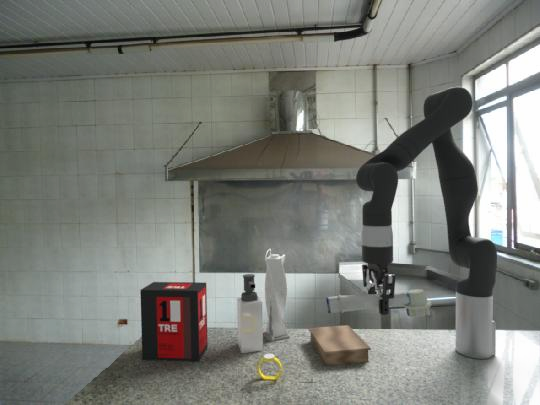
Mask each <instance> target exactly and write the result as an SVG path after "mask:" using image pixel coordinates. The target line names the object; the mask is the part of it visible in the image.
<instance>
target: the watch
mask: <svg viewBox="0 0 540 405" xmlns="http://www.w3.org/2000/svg"><path fill="white" fill-rule="evenodd" d="M265 361H266V362H272V361H274V362H276V363H277V365H278V367H279V371H278V374H276V375H275V376H272V375H271V376H269V375H264V374H263V372H262V371H261V369H260V367H261V364H262V363H263V362H265ZM282 368H283V367H282V363H281V361H280V360H279V358H277V357H275V354H274V353H266V354H264V355H263V357H262V358H261V359H260V360H259V362H258V364H257V373H258V376H259V377H260V378H261V379H263V381H276V380H278V379H279V378H280V377H281V374H282V371H283V369H282Z"/></svg>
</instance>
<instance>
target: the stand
mask: <svg viewBox="0 0 540 405" xmlns="http://www.w3.org/2000/svg"><path fill="white" fill-rule="evenodd" d="M308 331H309V333H310V342H311V344H312V345H313V347H314V349H315V350H316V351H317V353H318V355H319V357H320V358H321V360H322V361H323V363H324V364H325V366H334V365H336V366H337V365H345V364H358V363H368V362H369V351H371V349H372V348H371V347H370V346H369V345H368V343H366V341H365V340H364V339H363V338H362V337H360V335H359V334H358V333H357V332H356V331H355V330H353V329H352V327H351V326H350V325H348V324H347V325H335V326H334V325H332V326H319V327H308Z"/></svg>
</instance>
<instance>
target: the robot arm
mask: <svg viewBox="0 0 540 405" xmlns="http://www.w3.org/2000/svg"><path fill="white" fill-rule="evenodd" d="M473 106H474V105H473V97H472V94H471V93H470V91H469V90H468V89H466V87H463V86H453V87H448V88H446V89H444V90H440V91H437V92H433V93H432V94H430V95H428V96H427V97H426V98H425V100H424V102H423V116H424V118H423V119H422V120H420V122H418V123H416V124H413V125H412V126H410V127H409V128H407V130H405V131H404V132H403V133H400V135H398V136H397V137H396V138H395V139H394V140H393V141H391V143H390V144H389V145H388V146H387V147H386V148H385V149H384V150H382V151H380V152H379V153H377V154H376V155H375V156H373V157H371V158H370V159H369V160H367V161H366V162H364V163H363V164H362V165H361V166H360V167H359V169H358V170H357V172H356V176H355V183H356V185H357V186H358V188H359V189H361V190H362V191H365V192H372V195H371V199H370V200H369V201H366V202H365V203H364V204H363V205H362V210H361V211H362V214H361V218H362V220H361V221H362V226H361V227H362V228H361V261H362V262H363V264H361V268H362V269H361V271H362V282H363V283H362V284H363V288H365V289H366V291H367V294H378V296H379V308H378V314H379V315H381V316H383V315H384V316H386V315H389V313H390V309H389V308H390V307H389V299H393V298H394V293H395V290H396V289H395V288H396V287H395V286H396V274H390V272H389V267H388V266H389V264H392V263H393V262H394V232H393V224H392V223H393V221H392V220H393V215H392V210H393V209H392V208H393V204H394V203H395V199H396V198H395V197H396V194H397V189H398V186H399V174H398V172H400V171H403V170H405V169H406V168H407V167H408V166H409V165H410V164H411V163H412V162H413V161H414V160H416V158H417V157H419V156H420V154H421V153H423V152H424V150H426V149H427V148H428V147H429V146H430V145H431V144H432V148H433V153H434V157H435V163H436V167H437V173H438V174H437V175H438V178H439V179H438V180H439V185H440V186H439V187H440V189H441V196H442V200H443V206H444V211H445V218H446V219H445V220H446V227H447V242H448V243H447V244H448V253H449V256H450V258H451V261H452V263H453V264H455V265H456V266H458V267H462V268H465V269H468V270H469V272H468V277H467V278H463V279H458V280H457V281H456V283H455V350H456V352H458V354H460V355H463V356H464V357H468V358H472V359H479V360H485V359H486V360H487V359H491V357H493V356H496V353H497V352H496V343H497V342H496V341H497V340H496V339H497V338H496V337H497V336H496V334H497V332H496V331H497V330H496V329H497V328H496V327H497V326H496V321H495V320H493V312H494V311H493V307H494V306H493V305H494V304H493V301H494V300H493V299H494V298H493V295H494V294H493V293H494V288H495V285H496V281H497V264H498V251H497V248H496V245H495V243H494V242H493V241H492V240H490V239H488V238H483V237H476V236H472V234H471V229H470V228H471V227H470V221H469V220H470V213H471V211H472V210H473V209H472V208H473V206H474V204H475V202H476V199H477V197H478V192H479V187H478V180H477V174H476V169H475V166H474V164H473V163H472V162H471V159H469V157H468V156H467V154H465V152H464V151H463V150H462V149H461V148H460V147H459V146H458V144H457V143H456V141H455V139H454V137H453V133H452V128H453V127H454V126H455V125H457V124H458V123H461V122H462V121H463V120H464V119H467V117H468V116H469V115H470V113H471V111H472V109H473Z"/></svg>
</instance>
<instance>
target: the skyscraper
mask: <svg viewBox="0 0 540 405" xmlns="http://www.w3.org/2000/svg"><path fill="white" fill-rule="evenodd" d="M268 253H269V255H268ZM264 260H265V265H266V271H265V272H266V273H265V279H264V300H265V308H266V312H267V313H266V314H267V318H268V320H267V326H266V329H265V331H263V338H265V339H266V340H267V341H269V343H271V342H277V341H282V340H285V339H289V338H291V337H290V335H288V333H287V329H286V325H285V322H284V315H285V311H286V305H287V296H288V282H287V277H286V271H285V268H284V264H285V261H286V254H282V255H281V256H280V254H278V253H277V254H276V253H272V249H271V248H268V250H266V252H265V256H264Z"/></svg>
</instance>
